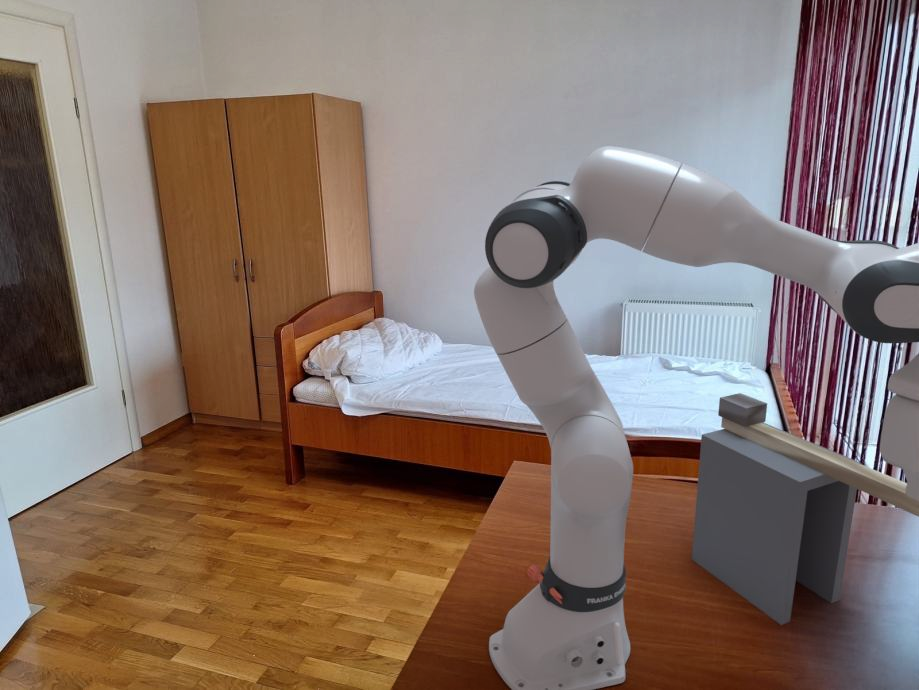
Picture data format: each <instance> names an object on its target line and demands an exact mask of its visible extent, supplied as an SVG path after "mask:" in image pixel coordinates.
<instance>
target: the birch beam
mask: <svg viewBox="0 0 919 690" xmlns="http://www.w3.org/2000/svg"><path fill="white" fill-rule="evenodd" d="M718 402H719V403H718V413H717V415H718V416H719V417H721V426H720V428H722V429H727V430H729V431H731V432H733V433H735V434H738V435H740V436H742V437H744V438H746V439H749V440H751V441H753V442H755V443H757V444H760V445H762V446H764V447H766V448H768V449H771V450H773V451H775V452H777V453H779V454H782V455H784V456H786V457H788V458H790V459H793V460H795V461H797V462H799V463H801V464H804V465H806V466H808V467H810V468H812V469H814V470H817V471H819V472H821V473H823V474H825V475H828V476H830V477H832V478H834V479H836V480H839V481H841V482H843V483H845V484H847V485H850V486H852V487H854V488H856V489H857V490H858V491H861V492H863V493H865V494H867V495H870V496H872V497H874V498H876V499H878V500H879V501H880V500H881V501H883V502H884V503H887V504H889V505H891V506H894V507H896V508H899V509H901V510H903V511H905V512H907V513H909V514H912V515H914V516H915V517H918V518H919V500H916V499H914V498H911V497H909V496H908V495H907V494H906V492H905V491H906V486H907V482H905V481H902V480H899V479H897V478H895V477H893V476H890V475H888V474H885V473H882V472H880V471H878V470H875V469H874V468H870V467H868V466H866V465H863V464H862V463H861V464H859V463H857V462H854V461H852V460H849V459H847V458H845V457H842V456H840V455H837V454H835V453H833V452H830V451H828V450H825V449H823V448H821V447H818V446H816V445H813V444H811V443H809V442H810V441H809V442H806V441H804V440H801V439H799V438H797V437H798V436H797V437H794V436H792V435H793V434H792V435H789V434H787V433H785V432H786V431H785V432H782V431H780V430H781V429H780V430H777V429H775V428H773V427H774V426H773V427H770V426H768V425H769V424H768V425H765V424H763V423H766V418H767V410H768V403H767V402H765V401H762V400H760V399H757V398H755V397H751V396H749V395H746V394H744V393H741V392H739V393H735V394H730V395H726V396H722V397H719V401H718ZM762 422H763V423H762Z"/></svg>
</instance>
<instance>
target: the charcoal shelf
mask: <svg viewBox="0 0 919 690" xmlns="http://www.w3.org/2000/svg"><path fill="white" fill-rule="evenodd" d="M762 423H763V424H765V425H768V426H770V427H773V428H775V429H777V430H780V431H782V432H785V433H787V434H789V435H792V436H794V437H797V438H799V439H801V440H804V441H806V442H809V443H811V444H813V445H816V446H818V447H821V448H823V449H825V450H828V451H830V452H833V453H835V454H837V455H840V456H842V457H845V458H847V459H849V460H852V461H854V462H857V463H859V464H861V465H862V462H860V461H858V460H855V459H853V458H850V457H847V456H846V455H843V454H841V453H838V452H835V451H833V450H831V449H829V448H826V447H824V446H821V445H819V444H818V443H814V442H812V441H809V440H807V439H805V438H802V437H800V436H797V435H795V434H792V433H790V432H788V431H785V430H783V429H780V428H777V427H775V426H773V425H770V424H769V423H766V422H762ZM700 439H701V440H700V452H699V465H698V476H697V477H698V478H697V487H696V501H695V502H696V503H695V511H694V512H695V513H694V529H693V540H692V549H691V550H692V551H691V560H692V561H693V562H695V563H696V564H697V565H699V566H700V567H701V568H702V569H704V570H705V571H707V572H708V573H709V574H711V575H712V576H713V577H715V578H716V579H718V580H719V581H720V582H722V584H725V585H726V586H728V588H730V589H732V590H733V591H734V592H735V593H737V594H738V595H740V596H741V597H742V598H744V600H746V601H748V602H749V603H750V604H752V606H755V607H756V608H757V609H758V610H760V611H761V612H762V613H764V614H765V615H767V616H768V617H769V618H771V619H772V620H774V621H775V622H777V623H778V624H779V625H780V626H783V625H785V624H787V623H790V622H791V617H792V610H793V603H794V595H795V587H796V582H797V583H799V584H800V585H803V586H804V587H805V588H807V589H808V590H810V591H812V592H813V593H815V594H816V595H818V596H819V597H820V598H822V599H823V600H826V601H827V602H829V603H830V604H834V603H835V602H839V601H840V597H841V592H842V585H843V579H844V573H845V568H846V567H845V566H846V559H847V554H848V546H849V542H850V535H851V529H852V523H853V515H854V509H855V505H856V496H857V490H858V489H856V488H854V487H852V486H850V485H847V484H845V483H843V482H841V481H839V480H836V479H834V478H832V477H830V476H828V475H825V474H823V473H821V472H819V471H817V470H814V469H812V468H810V467H808V466H806V465H804V464H801V463H799V462H797V461H795V460H793V459H790V458H788V457H786V456H784V455H782V454H779V453H777V452H775V451H773V450H771V449H768V448H766V447H764V446H762V445H760V444H757V443H755V442H753V441H751V440H749V439H746V438H744V437H742V436H740V435H738V434H735V433H733V432H731V431H729V430H727V429H724V428H722V429H718V430H714V431H711V432H707V433H703V434H701V437H700Z"/></svg>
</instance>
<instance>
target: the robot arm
mask: <svg viewBox="0 0 919 690" xmlns="http://www.w3.org/2000/svg"><path fill="white" fill-rule="evenodd" d="M599 239H600V240H601V239H605V240H610V241H614V242H617V243H619V244H623V245H626V246H628V247H630V248H632V249H634V250H637V251H640V252H642V253H645V254H647V255H649V256H652V257H655V258H657V259H661V260H663V261H667V262H671V263H675V264H679V265H683V266H688V267H695V268H700V267H702V268H703V267H708V266H712V265H718V264H724V263H725V264H726V263H727V264H729V263H735V264H742V265H748V266H751V267H755V268H758V269H760V270H763V271H764V272H767V273H771V274H773V275H776V276H778V277H781V278H784V279H787V280H789V281H791V282H794V283H797V284H799V285H803V286H805V287H807V288H808V289H810V290H812V291H813V292H814V293H816V294H817V295H818V296H819V297H820V299H822V301H823V302H824V303H825V304H826V305H827V306H828V307H829V308H830V309H831V310H832V311H834V312H835V313H836V314H838V316H839V317H840V318H841V320H843V322H844V323H845V324H846V325H847V326H848V327H849V328H850V329H851V330H852V331H854V332H855V333H856V334H858V335H859V336H861V337H863V338H865V339H866V340H870V341H872V342H876V343H881V344H911V343H913V344H914V343H919V242H917V243H914V244H911V245H908V246H905V247H898V246H897V245H894V244H893V243H889V242H886V241H881V240H873V239H871V240H870V239H865V240H864V239H860V240H859V239H858V240H838V239H837V240H836V239H832V238H828V237H826V236H823V235H820V234H817V233H815V232H812V231H809V230H806V229H804V228H801V227H799V226H796V225H793V224H791V223H788V222H785V221H782V220H779V219H777V218H774V217H773V216H770V215H768V214H766V213H764V212H763V211H762V210H760V209H759V208H758V207H756V206H755V205H753V204H752V203H751V202H750V201H749V200H748V199H746V197H744V196H743V195H742V194H741V193H740V191H737V190H736V189H734V187H732V186H730V185H728V184H727V183H725V182H723V181H722V180H720V179H718V178H717V177H714V175H713V176H712V175H711V174H709V173H706V172H705V171H703V170H700V169H698V168H696V167H694V166H691V165H689V164H687V163H682V162H681V161H678V160H675V159H672V158H669V157H665V156H663V155H660V154H659V155H658V154H656V153H651V152H648V151H643V150H638V149H634V148H630V147H629V148H628V147H623V146H622V147H621V146H616V145H615V146H614V145H604V146H600V147H598V148H596V149H594V150H593V151H592V152H590V154H588V155H587V156H586V157H585V158H584V159H583V161H581V163H580V164H579V166H578V168H577V170H576V171H575V174H574V176H573V178H572V180H571V183H570V182H566V181H562V180H561V181H560V180H559V181H558V180H553V181H547V182H544V183H541V184H539V185H537V186H536V187H533V188H530V189H528V190H525V191H523V192H522V193H520V194H519V195H518V196H517V197H516V198H514V199H513V200H512V202H511V203H510V204H507V205H506V206H504V207H503V208H502V209H501V210H500V211H498V213H497V214H496V215H495V217H494V218H493V220H492V221H491V223H490V225H489V227H488V229H487V232H486V235H485V240H484V243H485V244H484V246H485V247H484V251H485V256H486V261H487V263H488V264H489V267H487V268H486V269H485V270H484V271H483V272H482V274H480V275H479V278H478V279H476V283H475V285H474V289H473V296H474V300H475V304H476V308H477V311H478V313H479V316H480V319H481V322H482V324H483V327H484V329H485V332H486V335H487V337H488V340H489V341H490V344H491V346H492V347H493V350H494V352H495V354H496V355H497V357H498V359H499V361H500V363H501V365H502V368H503V369H504V371H505V373H506V375H507V376H508V379H509V381H510V383H511V385H512V386H513V388H514V390H515V392H516V394H517V396H518V397H519V400H520V402H522V403H523V404H524V405H526V406H527V408H528V409H529V410H530V411H531V413H532V414H533V415H534V417H535V419H537V421H538V423H540V426H541V427H542V429H543V430H544V432H545V434H546V436H547V440H548V442H549V447H550V453H551V454H550V457H551V458H550V460H551V461H550V538H549V539H550V544H549V545H550V547H549V549H550V551H549V552H550V553H549V555H550V556H549V558H548V561H547V563H546V565H545V567H544V569H543V570H541V568H540V567H539V565H537V564H531V565H530V566H529V567H528V569H527V572H526V573H527V575H528V577H529V578H531V579H532V581H533V582H534V583H538V584H537V585H536V586H535V587H533V588H532V589H531V590H530V591H529V592H528V593H527V594H526V595H525V596H524V597H523V598H522V599H521V600H520V601H519V602H517V603H516V604H515V605H514V607H512V608H511V609H510V610H509V611H508V612H507V615H506V617H505V621H504V625H503V628H502V629H501V630H500V629H499V630H498V631H496V632H495V633H493V634H492V635H490V636H489V641H488V652H489V656H490V660H491V662H492V665H493V667H494V668H495V670H496V671H497V673H498V675H499V676H500V677H501V678H502V680H503V681H504V683H505V684H506V685H507V686H508V687H509V688H510V689H511V690H596V689H597V690H598V689H601V688H605V687H611V686H615V685H619V684H622V683H624V682H625V681H626V664H627V661H628V659H629V657H630V654H631V642H630V639H629V638H630V637H629V634H628V631H627V627H626V621H625V614H624V613H625V612H624V596H625V593H626V586H627V585H626V584H627V583H626V582H627V579H626V578H627V574H626V572H627V571H626V565H625V563H624V560H625V559H624V558H625V539H626V538H625V537H626V536H625V535H626V523H627V518H628V513H629V507H630V502H631V494H632V487H633V479H634V464H633V459H632V457H631V456H632V455H631V453H630V452H631V451H630V448H629V445H628V441H627V437H626V434H625V429H624V427H623V426H624V425H623V422H622V420H621V418H620V416H619V414H618V412H617V410H616V408H615V407H614V405H613V403H612V401H611V399H610V397H609V395H608V393H607V392H606V390H605V389H604V386H603V385H602V384H601V382H600V380H599V378H598V377H597V374H596V372H595V371H594V370H593V367H592V366H591V364H590V363H589V360H588V358H587V356H586V354H585V352H584V350H583V348H582V346H581V343H580V342H579V340H578V338H577V336H576V334H575V332H574V330H573V328H572V326H571V324H570V322H569V320H568V318H567V315H566V314H565V311H564V309H563V308H562V306H561V304H560V302H559V299H558V297H557V294H556V292H555V287H554V281H555V280H556V279H557V278H559V277H560V276H561V275H562V274H563V273H564V272H565V271H566V270H567V269H568V268H569V267H570V266H571V265H572V264H574V262H575V261H576V260H577V259H578V258H579V256H580V254H581V253H582V251H583V250H584V248H585V247H586V245H587V243H589V242H591V241H594V240H599ZM887 391H889V392H890V393H893V394H895V395H893V396H892V397H891V398H890V399H889V402H888V404H887V406H886V408H885V412H884V415H883V416H884V418H883V420H882V421H883V423H882V428H881V434H880V442H879V453H880V456H881V457H882V460H883V461H884V462H885V463H887V464H889V465H891V466H893V467H897V468H898V469H902V471H903V473H904V476H905V479H906V483H907V486H906V491H905V492H906V494H907V495H908V496H909V497H911V498H914V499H916V500H919V353H917V354H916V355H915V356H914V357H913V358H912V359H911V360H910V361H909V362H907V363H906V364H905V365H903V366H901V367H900V368H899V369H897V370H895V371H894V372H893V373H892V374H891V375H890V377H889V379H888V384H887Z"/></svg>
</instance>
